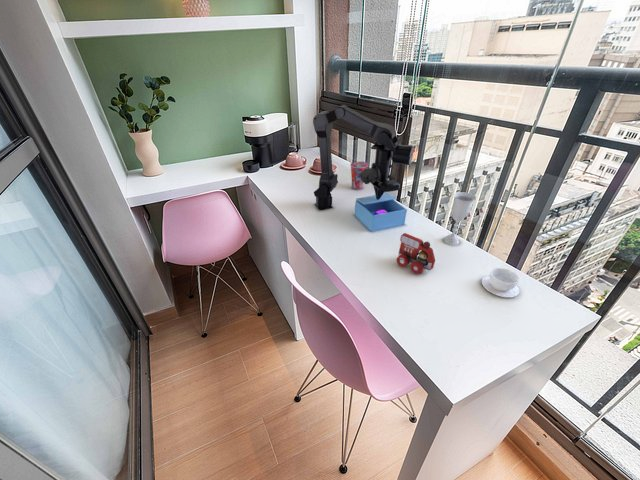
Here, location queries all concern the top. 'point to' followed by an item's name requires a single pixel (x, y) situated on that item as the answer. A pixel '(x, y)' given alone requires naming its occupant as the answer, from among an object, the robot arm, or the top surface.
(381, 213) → the crystal
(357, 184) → the cup
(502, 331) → the top surface
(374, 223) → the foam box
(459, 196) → the chalice
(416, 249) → the toy fire truck
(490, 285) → the teacup
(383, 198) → the flap
